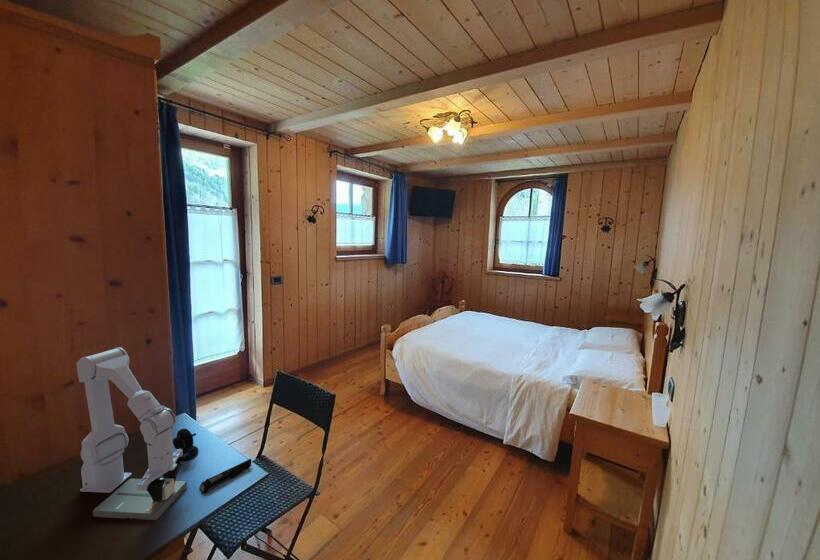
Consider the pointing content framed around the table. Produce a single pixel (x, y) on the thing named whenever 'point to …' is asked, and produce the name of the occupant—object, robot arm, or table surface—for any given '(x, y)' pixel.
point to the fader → (167, 488)
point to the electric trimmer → (224, 476)
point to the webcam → (185, 444)
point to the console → (136, 502)
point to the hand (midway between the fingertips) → (163, 493)
